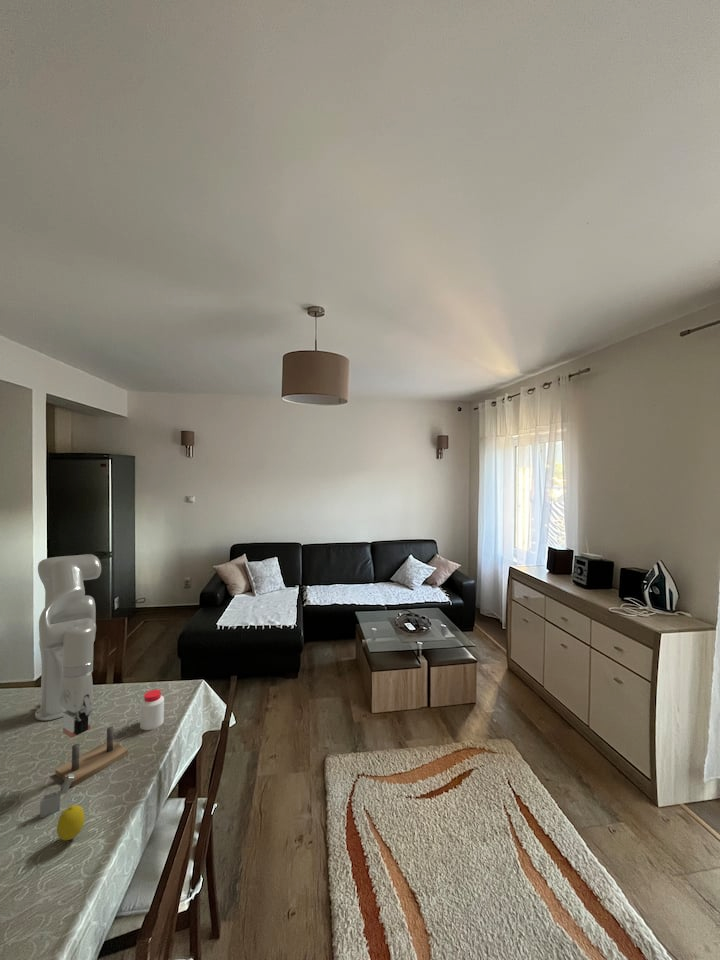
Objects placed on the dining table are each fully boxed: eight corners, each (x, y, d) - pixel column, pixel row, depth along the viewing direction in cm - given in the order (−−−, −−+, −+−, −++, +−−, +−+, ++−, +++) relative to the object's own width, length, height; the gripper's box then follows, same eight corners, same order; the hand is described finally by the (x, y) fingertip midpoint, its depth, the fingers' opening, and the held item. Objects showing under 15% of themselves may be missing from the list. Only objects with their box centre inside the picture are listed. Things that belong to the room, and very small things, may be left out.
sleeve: (63, 732, 118) (63, 712, 118) (81, 724, 123) (81, 704, 123) (71, 737, 116) (72, 717, 116) (90, 728, 120) (90, 708, 120)
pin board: (55, 774, 119) (56, 745, 119) (110, 744, 133) (111, 718, 133) (72, 787, 114) (73, 757, 114) (127, 754, 128) (128, 728, 128)
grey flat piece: (40, 818, 104) (40, 787, 104) (40, 814, 105) (40, 783, 105) (73, 804, 108) (74, 775, 108) (73, 800, 109) (73, 771, 110)
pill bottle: (153, 731, 140) (154, 700, 140) (134, 728, 142) (135, 697, 142) (168, 719, 148) (169, 689, 148) (150, 716, 149) (151, 686, 149)
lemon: (66, 829, 100) (66, 798, 100) (89, 828, 101) (89, 797, 101) (50, 850, 95) (51, 816, 95) (75, 848, 95) (76, 815, 95)
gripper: (49, 666, 120) (48, 727, 120) (79, 680, 112) (77, 745, 112) (77, 657, 127) (75, 715, 127) (106, 670, 119) (105, 731, 118)
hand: (76, 728), depth 119 cm, fingers closed on sleeve, 5 cm apart
